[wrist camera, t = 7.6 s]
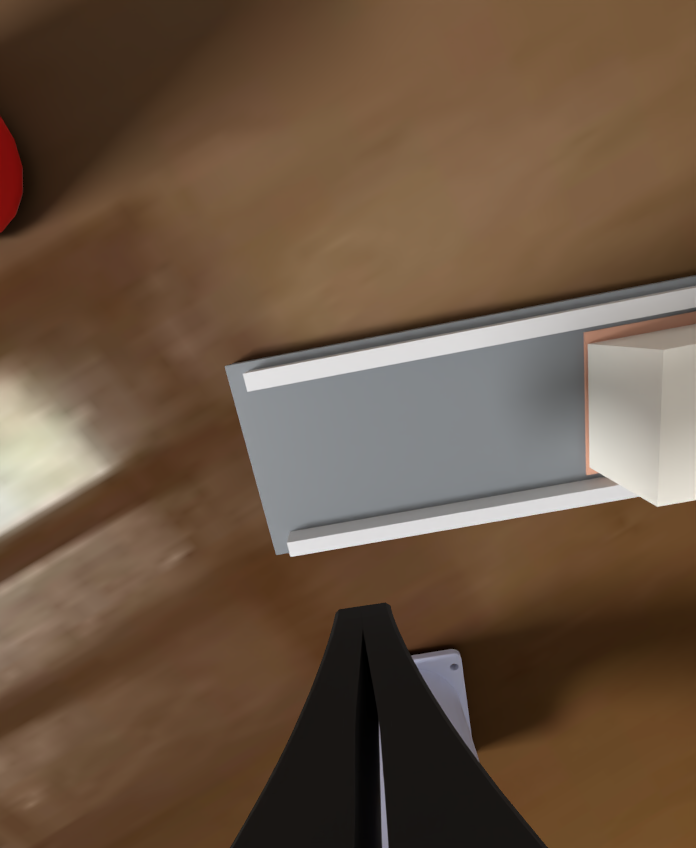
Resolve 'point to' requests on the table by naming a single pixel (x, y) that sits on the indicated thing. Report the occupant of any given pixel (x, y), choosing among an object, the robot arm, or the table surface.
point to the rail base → (437, 420)
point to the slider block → (645, 413)
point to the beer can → (9, 177)
